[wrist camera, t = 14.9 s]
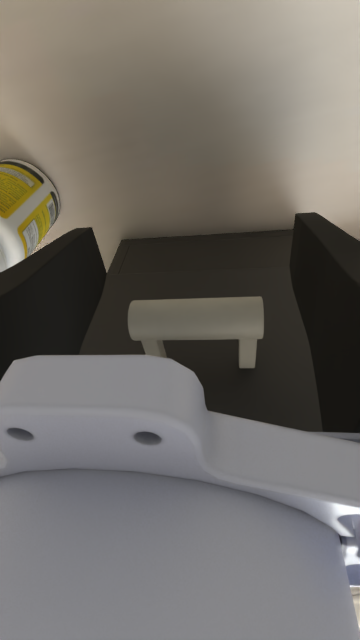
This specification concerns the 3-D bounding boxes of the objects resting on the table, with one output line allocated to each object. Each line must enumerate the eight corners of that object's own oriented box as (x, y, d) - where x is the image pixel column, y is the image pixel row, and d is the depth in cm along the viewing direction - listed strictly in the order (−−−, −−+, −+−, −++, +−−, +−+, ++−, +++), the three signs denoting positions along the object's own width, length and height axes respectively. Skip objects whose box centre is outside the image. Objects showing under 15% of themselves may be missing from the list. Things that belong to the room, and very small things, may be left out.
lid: (380, 495, 11) (439, 447, 8) (41, 476, 13) (-24, 431, 10) (318, 274, 19) (335, 201, 15) (106, 282, 21) (80, 219, 17)
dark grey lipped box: (288, 338, 29) (295, 378, 26) (148, 340, 31) (140, 377, 28) (304, 228, 22) (317, 265, 19) (121, 239, 24) (106, 274, 21)
